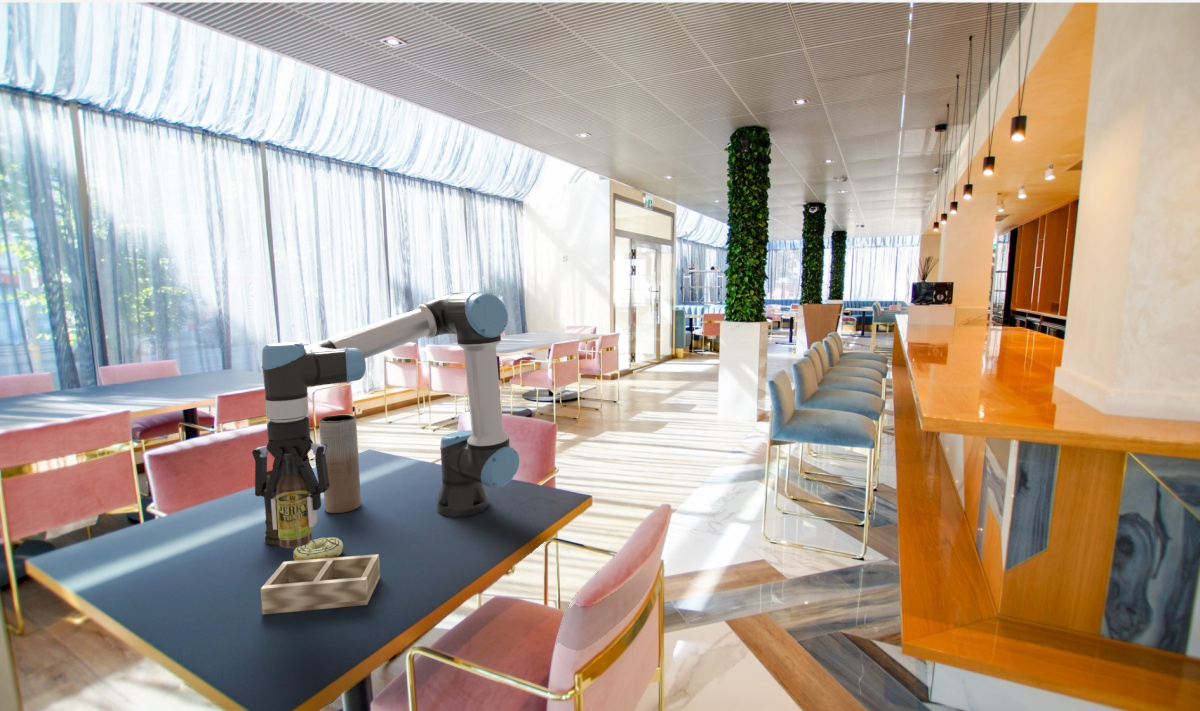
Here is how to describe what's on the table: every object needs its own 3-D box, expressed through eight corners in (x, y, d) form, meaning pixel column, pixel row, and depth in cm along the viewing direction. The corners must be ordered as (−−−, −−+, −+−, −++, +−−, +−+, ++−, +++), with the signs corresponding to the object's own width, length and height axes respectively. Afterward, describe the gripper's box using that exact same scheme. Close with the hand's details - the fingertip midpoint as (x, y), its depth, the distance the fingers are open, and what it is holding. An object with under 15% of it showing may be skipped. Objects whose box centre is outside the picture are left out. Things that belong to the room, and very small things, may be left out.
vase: (364, 508, 159) (358, 418, 156) (327, 516, 154) (321, 423, 151) (357, 498, 168) (352, 412, 164) (322, 505, 162) (316, 416, 159)
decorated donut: (350, 557, 130) (349, 543, 130) (303, 574, 123) (302, 559, 122) (334, 544, 137) (333, 530, 137) (288, 559, 130) (287, 544, 129)
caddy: (380, 577, 121) (378, 554, 120) (367, 604, 110) (365, 579, 109) (285, 585, 118) (283, 561, 117) (262, 614, 107) (260, 588, 106)
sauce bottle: (277, 552, 108) (269, 457, 105) (281, 539, 113) (274, 449, 111) (312, 546, 110) (306, 453, 108) (315, 534, 116) (308, 445, 114)
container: (286, 547, 135) (280, 479, 133) (256, 544, 137) (250, 477, 135) (311, 531, 144) (307, 468, 142) (283, 529, 146) (278, 465, 144)
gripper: (343, 412, 114) (349, 515, 116) (246, 415, 111) (254, 521, 113) (331, 420, 106) (338, 530, 109) (227, 424, 103) (236, 536, 106)
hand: (295, 525), depth 111 cm, fingers closed on sauce bottle, 6 cm apart
